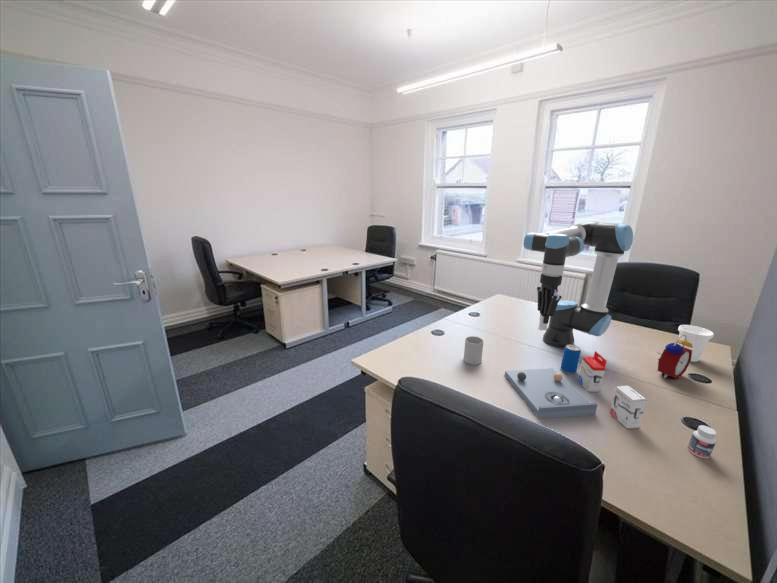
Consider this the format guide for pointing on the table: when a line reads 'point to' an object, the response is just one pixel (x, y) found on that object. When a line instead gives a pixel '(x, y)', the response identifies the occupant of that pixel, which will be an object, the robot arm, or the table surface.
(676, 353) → the alarm clock
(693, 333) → the cup
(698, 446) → the pill bottle
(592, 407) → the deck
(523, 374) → the rubber ball
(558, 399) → the steel ball
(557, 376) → the terracotta ball
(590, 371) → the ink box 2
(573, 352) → the beverage can
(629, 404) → the ink box
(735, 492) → the table surface
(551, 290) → the robot arm
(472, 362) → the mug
